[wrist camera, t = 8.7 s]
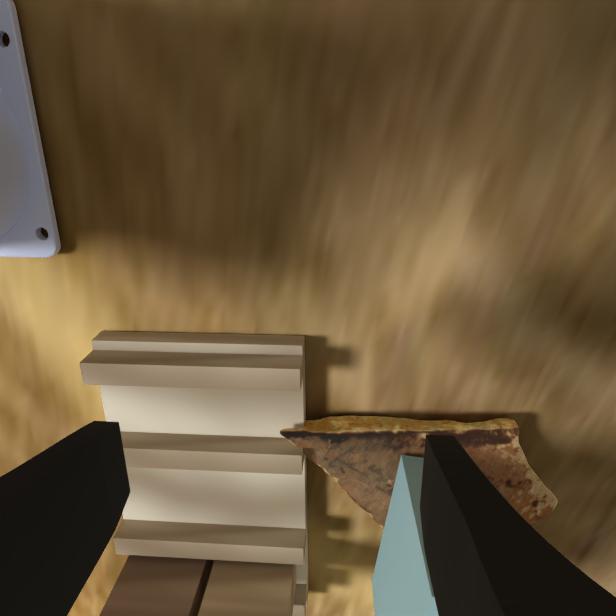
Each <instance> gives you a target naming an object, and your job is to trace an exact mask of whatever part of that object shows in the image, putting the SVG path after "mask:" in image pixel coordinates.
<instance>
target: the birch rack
mask: <svg viewBox="0 0 616 616" xmlns="http://www.w3.org/2000/svg"><path fill="white" fill-rule="evenodd" d="M91 341H92V346H93V351H92V352H91V353H89V354H88V355H87V356H86V357H85V358H84V359H83V360H82V361H81V362H80V368H81V374H82V379H83V384H84V385H100V391H101V396H102V402H103V408H104V413H105V419H106V422H119V426H120V432H121V438H122V444H123V450H124V456H125V461H126V467H127V473H128V479H129V485H130V491H131V492H130V494H129V497H128V499H127V502H126V504H125V507H124V510H123V512H122V513H123V521H122V523H121V525H120V527H119V528H118V530H117V532H116V534H115V536H114V538H113V540H114V545H115V550H116V554H122V555H140V556H157V557H174V558H191V559H209V560H213V564H214V560H226V561H243V562H260V563H277V564H295V565H296V578H297V579H296V588H295V596H294V604H293V613H292V616H305V612H306V608H307V602H308V529H307V463H306V456H305V455H304V454H303V447H296V446H295V445H294V444H293V443H291V442H290V441H289V440H287V439H286V438H285V437H283V436H282V435H281V434H280V430H283V429H287V428H301V427H304V423H305V420H306V397H305V336H300V335H257V334H214V333H170V332H127V331H101V332H100V333H99V334H98V335H97V336H96V337H95V338H94V339H93V340H91Z"/></svg>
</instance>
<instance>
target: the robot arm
mask: <svg viewBox="0 0 616 616" xmlns="http://www.w3.org/2000/svg"><path fill="white" fill-rule="evenodd" d="M4 33H7V34H8V36H9V38H10V44H9V45H8V47H6V46H5V45H4V43H3V41H2V37H3V35H4ZM41 228H44V229H45V230H47V232H48V238H46V237H44V236H43V235H42V233H41ZM60 249H61V243H60V238H59V233H58V228H57V222H56V217H55V212H54V206H53V201H52V196H51V191H50V185H49V180H48V175H47V170H46V164H45V159H44V154H43V148H42V143H41V138H40V133H39V127H38V122H37V117H36V112H35V106H34V101H33V96H32V90H31V85H30V80H29V75H28V69H27V64H26V59H25V54H24V48H23V43H22V38H21V33H20V27H19V22H18V17H17V11H16V7H15V4H14V2H13V0H0V257H43V258H48V257H52V256H54V255H56V254H57V253H58V252H59V251H60ZM130 492H131V491H130V485H129V479H128V473H127V467H126V461H125V456H124V450H123V444H122V438H121V432H120V426H119V422H106V421H93V422H92V423H90V424H88V425H86V426H84V427H82V428H80V429H79V430H77V431H75V432H74V433H72V434H70V435H69V436H67V437H66V438H64V439H62V440H61V441H59V442H57V443H56V444H54V445H53V446H51V447H49V448H48V449H46V450H45V451H43V452H41V453H40V454H38V455H36V456H35V457H33V458H32V459H30V460H28V461H27V462H25V463H23V464H22V465H20V466H19V467H17V468H15V469H14V470H12V471H10V472H8V473H7V474H5V475H3V476H1V477H0V616H67V614H68V613H69V611H70V609H71V607H72V606H73V604H74V602H75V600H76V599H77V597H78V595H79V593H80V592H81V590H82V588H83V586H84V585H85V583H86V581H87V579H88V578H89V576H90V574H91V572H92V571H93V569H94V567H95V565H96V564H97V562H98V560H99V558H100V557H101V555H102V553H103V551H104V549H105V548H106V546H107V544H108V542H109V540H110V539H111V537H112V535H113V533H114V531H115V529H116V527H117V524H118V522H119V519H120V517H121V515H122V512H123V510H124V507H125V504H126V502H127V499H128V497H129V494H130ZM420 514H421V525H422V534H423V544H424V551H425V556H426V561H427V565H428V570H429V574H430V579H431V584H432V588H433V593H434V597H435V602H436V606H437V611H438V615H439V616H616V597H614V596H613V595H612V594H610V593H609V592H608V591H607V590H605V589H604V588H603V587H601V586H600V585H599V584H597V583H596V582H595V581H593V580H592V579H591V578H589V577H588V576H587V575H586V574H584V573H583V572H582V571H581V570H580V569H578V568H577V567H576V566H575V565H573V564H572V563H571V562H570V561H569V560H568V559H567V558H565V557H564V556H563V555H562V554H561V553H560V552H559V551H557V550H556V549H555V548H554V547H553V546H552V545H551V544H549V543H548V542H547V541H546V540H545V539H544V538H543V537H542V536H541V535H540V534H539V533H538V532H537V531H535V529H534V528H533V527H532V526H531V525H530V524H529V523H528V522H527V521H526V520H525V519H524V518H523V517H522V516H521V515H520V514H519V513H518V512H517V511H516V510H515V509H514V508H513V507H512V506H511V504H510V503H509V502H508V501H507V500H506V499H505V498H504V497H503V495H502V494H501V493H500V492H499V491H498V490H497V489H496V487H495V486H494V485H493V484H492V483H491V482H490V481H489V479H488V478H487V477H486V476H485V475H484V473H483V472H482V471H481V470H480V468H479V467H478V466H477V465H476V463H475V462H474V461H473V460H472V458H471V457H470V456H469V454H468V453H467V452H466V450H465V449H464V448H463V447H462V445H461V444H460V443H459V441H458V440H457V439H456V438H455V437H454V436H452V435H427V434H426V438H425V450H424V462H423V474H422V486H421V497H420Z"/></svg>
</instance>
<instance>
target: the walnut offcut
mask: <svg viewBox="0 0 616 616" xmlns="http://www.w3.org/2000/svg"><path fill="white" fill-rule="evenodd" d="M212 567H213V560H209V559H191V558H174V557H157V556H140V555H129V557H128V559H127V561H126V563H125V565H124V567H123V569H122V571H121V573H120V575H119V577H118V579H117V581H116V583H115V585H114V587H113V589H112V591H111V593H110V595H109V597H108V599H107V601H106V604H105V606H104V608H103V610H102V612H101V614H100V616H198V613H199V610H200V607H201V603H202V600H203V597H204V593H205V590H206V587H207V584H208V580H209V577H210V574H211V570H212Z"/></svg>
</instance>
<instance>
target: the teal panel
mask: <svg viewBox="0 0 616 616" xmlns="http://www.w3.org/2000/svg"><path fill="white" fill-rule="evenodd" d="M423 462H424V458H421V457H414V456H406V455H401V458H400V462H399V466H398V470H397V475H396V479H395V483H394V488H393V492H392V496H391V501H390V505H389V509H388V513H387V518H386V522H385V526H384V531H383V535H382V539H381V544H380V548H379V552H378V556H377V561H376V565H375V569H374V574H373V578H372V586H373V597H374V607H375V616H439V615H438V611H437V606H436V602H435V597H434V593H433V588H432V584H431V579H430V574H429V570H428V565H427V561H426V556H425V551H424V544H423V534H422V525H421V514H420V497H421V486H422V474H423Z"/></svg>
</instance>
